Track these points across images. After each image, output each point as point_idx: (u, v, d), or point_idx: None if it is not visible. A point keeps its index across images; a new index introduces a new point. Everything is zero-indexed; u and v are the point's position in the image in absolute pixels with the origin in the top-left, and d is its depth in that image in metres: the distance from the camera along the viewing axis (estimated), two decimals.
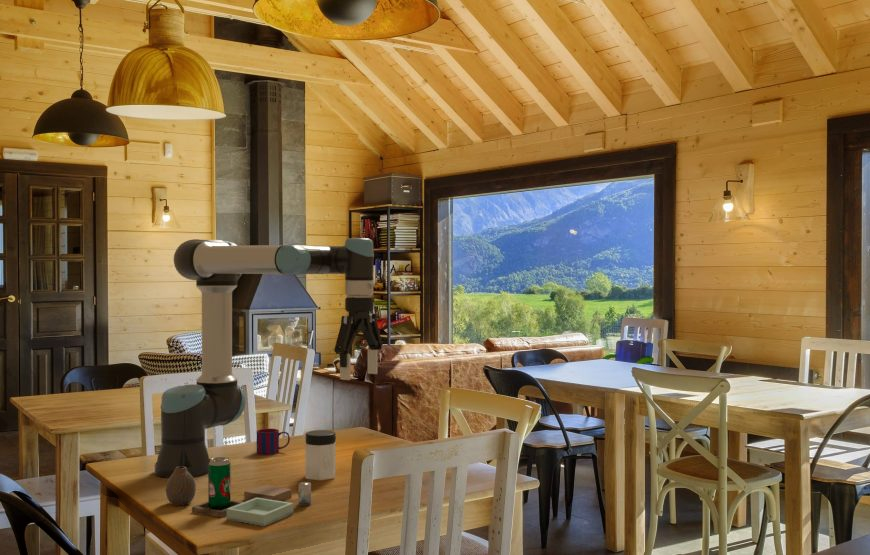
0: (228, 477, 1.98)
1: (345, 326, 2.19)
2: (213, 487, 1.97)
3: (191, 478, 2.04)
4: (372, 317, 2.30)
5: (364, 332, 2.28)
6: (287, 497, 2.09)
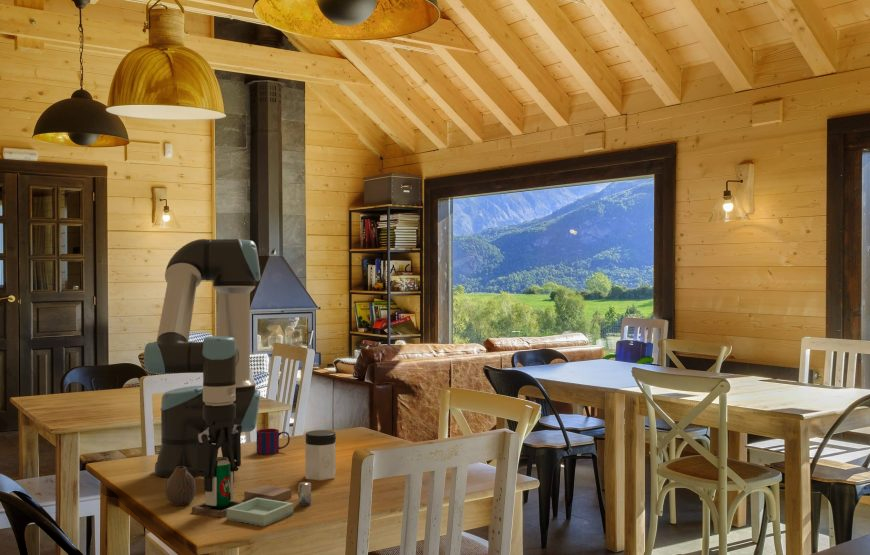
0: (228, 477, 1.98)
1: (202, 446, 1.94)
2: None
3: (191, 478, 2.04)
4: (236, 428, 2.04)
5: (222, 445, 2.01)
6: (287, 497, 2.09)
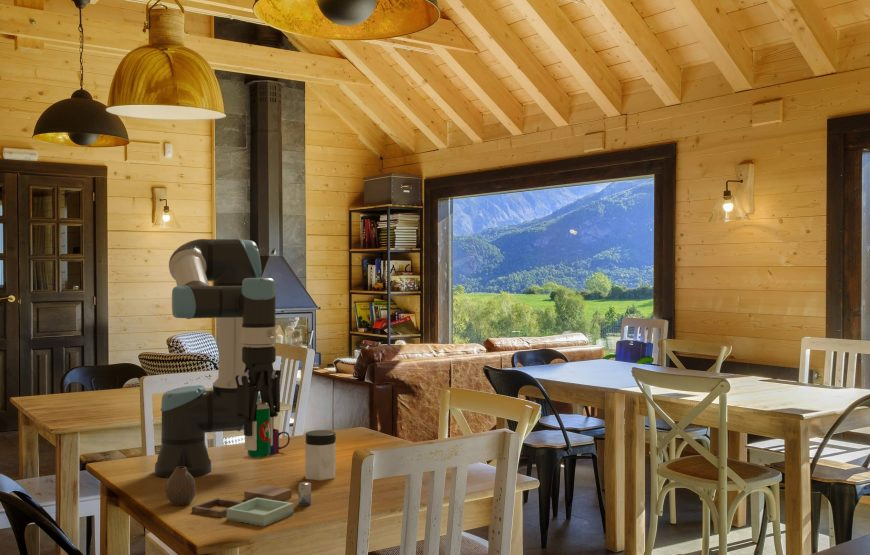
0: (268, 422, 1.93)
1: (242, 388, 1.88)
2: None
3: (191, 478, 2.04)
4: (275, 373, 1.98)
5: (262, 389, 1.95)
6: (287, 497, 2.09)
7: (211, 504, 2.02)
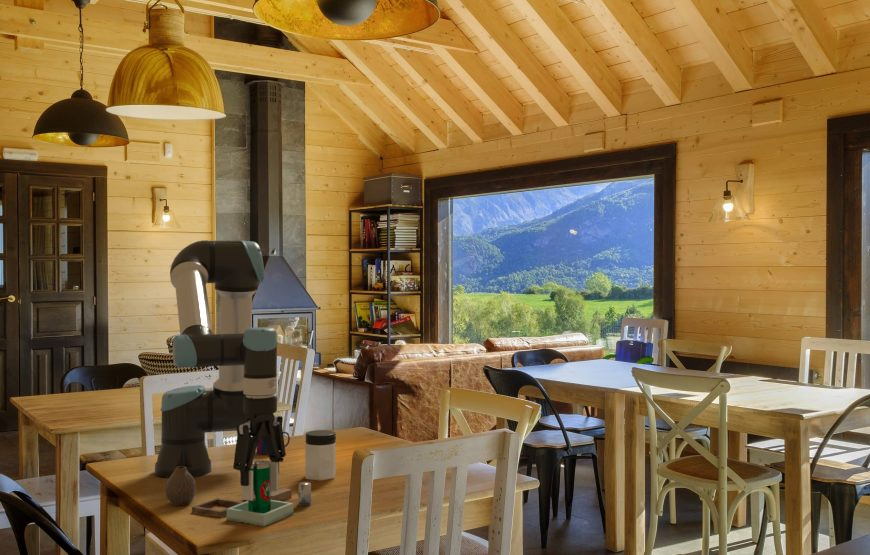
0: (268, 480, 1.93)
1: (242, 438, 1.88)
2: (253, 491, 1.91)
3: (191, 478, 2.04)
4: (277, 420, 1.98)
5: (265, 438, 1.96)
6: (287, 497, 2.09)
7: (211, 504, 2.02)
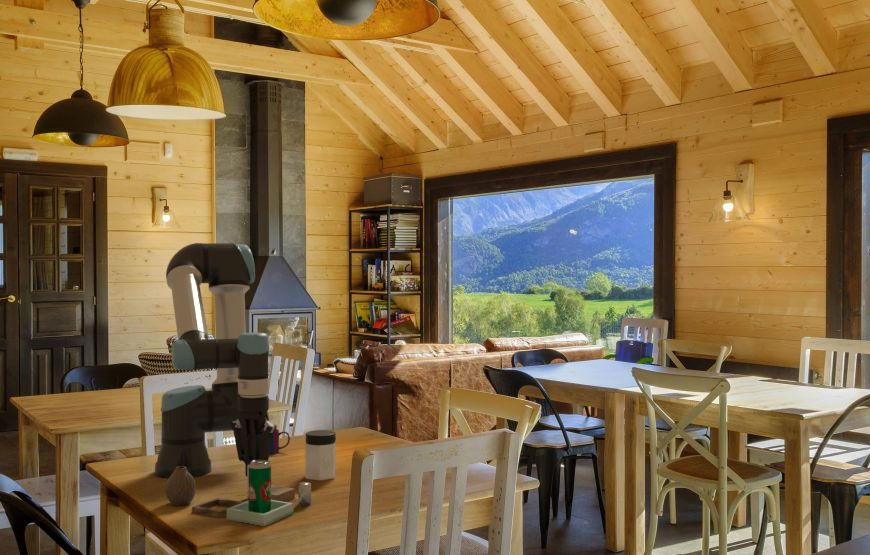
0: (269, 480, 1.93)
1: None
2: (253, 491, 1.91)
3: (191, 478, 2.04)
4: None
5: None
6: (290, 496, 2.09)
7: (211, 504, 2.02)
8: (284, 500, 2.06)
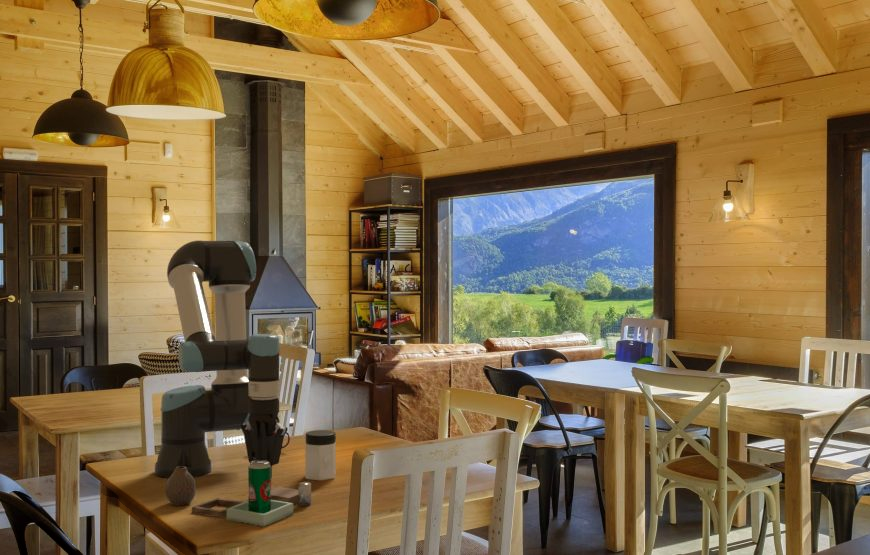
0: (269, 481, 1.93)
1: None
2: (253, 491, 1.91)
3: (191, 478, 2.04)
4: (278, 429, 2.07)
5: None
6: None
7: (211, 504, 2.02)
8: (296, 503, 2.05)
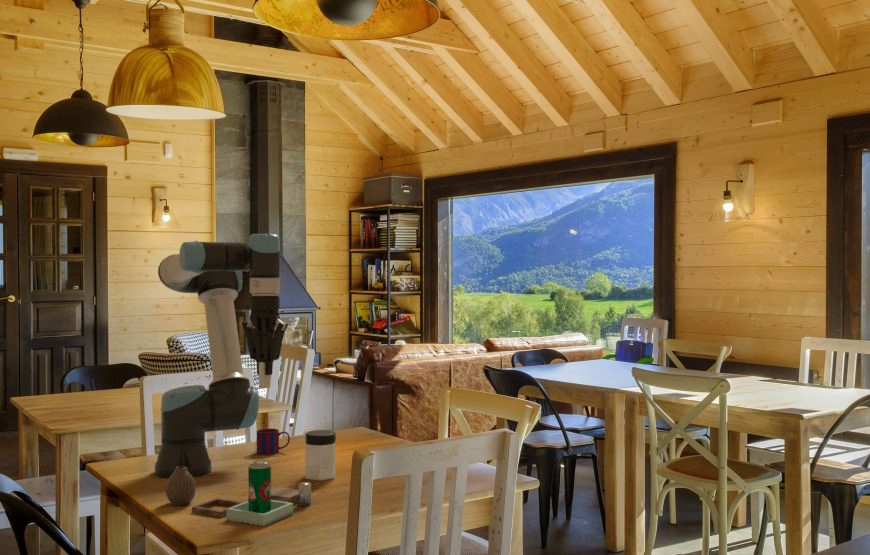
0: (269, 481, 1.93)
1: None
2: (253, 491, 1.91)
3: (191, 478, 2.04)
4: None
5: None
6: None
7: (211, 504, 2.02)
8: (296, 502, 2.05)
